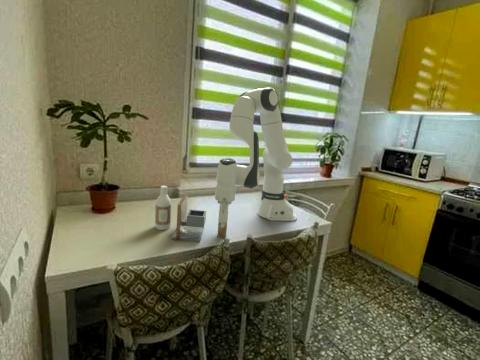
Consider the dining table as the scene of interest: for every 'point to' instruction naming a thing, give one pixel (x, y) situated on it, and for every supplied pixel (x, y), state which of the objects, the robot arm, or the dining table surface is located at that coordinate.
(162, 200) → the bath foam
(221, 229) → the oak rail post
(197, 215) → the cup bracket
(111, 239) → the dining table surface
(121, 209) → the dining table surface
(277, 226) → the dining table surface
